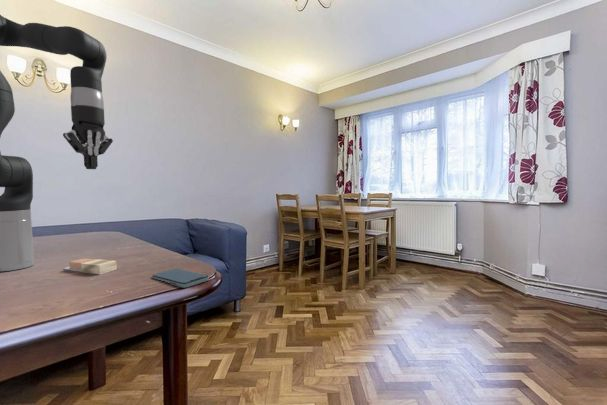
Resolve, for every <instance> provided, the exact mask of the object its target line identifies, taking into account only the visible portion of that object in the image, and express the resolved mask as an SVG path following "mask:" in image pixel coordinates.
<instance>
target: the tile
mask: <svg viewBox="0 0 607 405" xmlns="http://www.w3.org/2000/svg"><path fill="white" fill-rule="evenodd" d="M93 260H95V259H93V258H80V259H75V260H70V261H69V267H70V269H77V270H82V268H81V263H85V262H89V261H93Z"/></svg>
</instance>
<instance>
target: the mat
mask: <svg viewBox="0 0 607 405" xmlns="http://www.w3.org/2000/svg"><path fill="white" fill-rule="evenodd" d="M63 270H65V271H72V272H73V271H74V272H80V273H83V272H82V270H77V269H70V266H67V267H64V268H63Z"/></svg>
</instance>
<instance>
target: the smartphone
mask: <svg viewBox="0 0 607 405" xmlns="http://www.w3.org/2000/svg"><path fill="white" fill-rule="evenodd" d="M209 277H210V276H209V275H208V274H204V273H199V272H193V271H190V270H186V269H185V270H184V269H179V268H173V269H169V270H166V271H162V272H157V273H155V274H153V275H152V279H153V278H155V279H154V280H156V279H158V280H157V281H159V280H161V281H160V282H162V281H165V282H168V283H170V284H169V285H172V286H175V287H178V288H183V289H185V288H191V287H193V286H196V285H199V284H202V283H205V282H208V281H209V279H210V278H209ZM165 282H164V283H165ZM168 283H167V284H168Z"/></svg>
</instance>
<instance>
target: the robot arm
mask: <svg viewBox="0 0 607 405" xmlns="http://www.w3.org/2000/svg"><path fill="white" fill-rule="evenodd" d="M0 47H19V48H26V49H27V48H28V49H33V50H38V51H41V52H44V53H45V52H46V53H50V54H55V55H60V56H66V55H70V56H73V57H75V58H78V59H79V60H82V65H81V66H77V65H76V66H73V67H71V69H70V73H69V74H70V77H69V78H70V115H71V123H72V126H71V130H70V131H67V132H64V133H63V134H62V136H63V138H64V139H65V140H66V142H67V143H68V144H69V146H71V148H72V149H73V150H74V151H75V153H77V154H81V155H82V156H83V164H84V168H85V169H86V170H96V169H97V168H98V162H99V161H98V156H100V155H104V154H105V153H106V151H107V150H108V149H109V147H110V146H111V145H112V144H113V142H114V139H112V138H109V137H108V136H107V135H106V131H105V130H104V129H105V128H104V127H105V124H106V123H105V106H104V105H105V104H104V103H105V102H104V96H103V86H102V84H103V83H102V77H103V75H104V70H105V67H106V63H107V51H106V49H105V47H104V44H103V43H102V42H101V41H100V40H98V39H97V38H95V37H93V36H91V35H90V34H88V33H86V32H85V31H83V30H81V29H79V28H76V27H73V26H67V25H66V26H65V25H63V26H54V25H48V24H44V23H40V22H28V23H25V24H21V23H18V22H15V21H13V20H10V19H8V18H6V17H4V16H2V15H1V14H0ZM15 107H16V106H15V100H14V95H13V89H12V87H11V84H10V83H9V81H8V80H7V78H6V76H4V74H3V72H2V71H1V70H0V138H1V136H2V133H3V132H4V130H5V129H6V127H8V125H9V124H10V122H11V120H12V119H13V118H14V116H15V111H16V109H15ZM33 173H34V172H33V168H32V166H31V164H30V162H29V161H28V159H26V158H24V157H21V156H16V155H3V154H2V153H1V151H0V188H4V191H3V193H2V194H1V195H0V272H8V271H9V272H10V271H16V270H21V269H27V268H30V267H33V266H34V265H35V257H34V256H35V255H34V239H33V238H34V237H33V221H32V212H31V208H32V207H31V203H32V201H33V199H34V190H33V189H34V188H33V186H34V178H33V177H34V174H33Z"/></svg>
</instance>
